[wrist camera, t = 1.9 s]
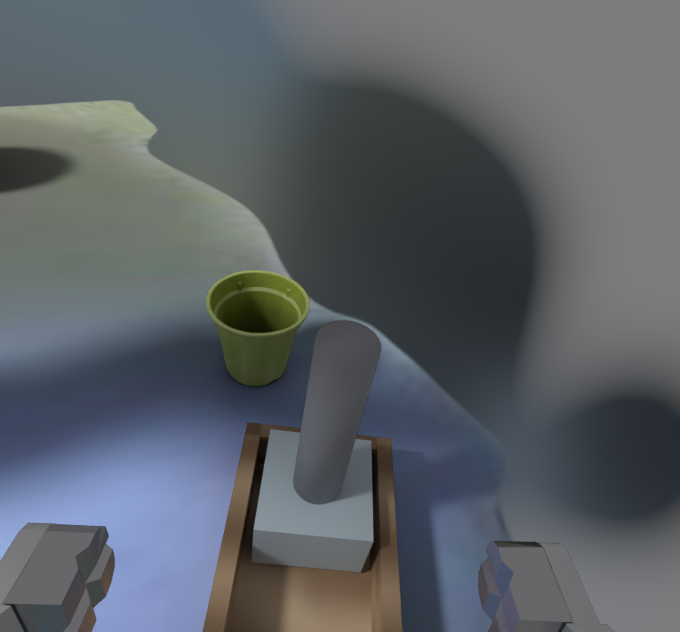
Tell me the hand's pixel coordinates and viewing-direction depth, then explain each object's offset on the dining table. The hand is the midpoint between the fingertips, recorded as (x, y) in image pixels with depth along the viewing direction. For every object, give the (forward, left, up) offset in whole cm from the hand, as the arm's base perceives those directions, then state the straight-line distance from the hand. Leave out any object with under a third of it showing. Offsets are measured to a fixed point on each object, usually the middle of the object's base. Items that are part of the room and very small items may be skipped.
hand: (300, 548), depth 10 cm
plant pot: (-28, +11, -27) cm, 41 cm away
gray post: (-11, +9, -26) cm, 30 cm away
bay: (-8, +7, -27) cm, 29 cm away
